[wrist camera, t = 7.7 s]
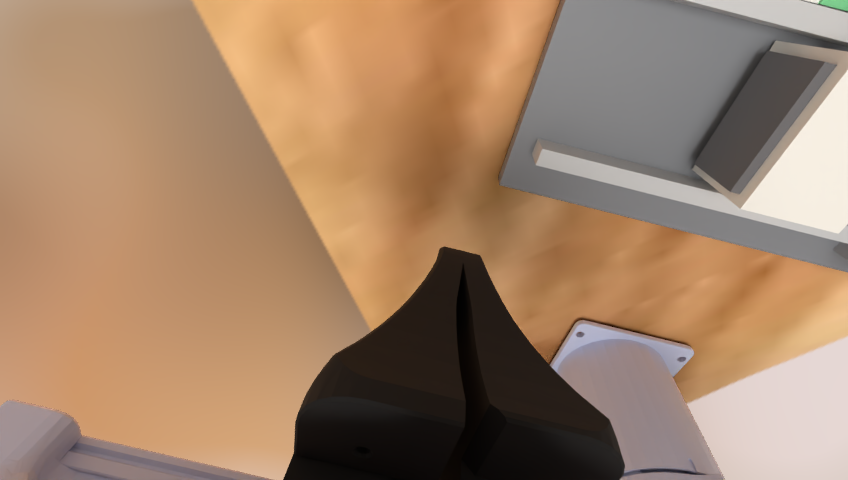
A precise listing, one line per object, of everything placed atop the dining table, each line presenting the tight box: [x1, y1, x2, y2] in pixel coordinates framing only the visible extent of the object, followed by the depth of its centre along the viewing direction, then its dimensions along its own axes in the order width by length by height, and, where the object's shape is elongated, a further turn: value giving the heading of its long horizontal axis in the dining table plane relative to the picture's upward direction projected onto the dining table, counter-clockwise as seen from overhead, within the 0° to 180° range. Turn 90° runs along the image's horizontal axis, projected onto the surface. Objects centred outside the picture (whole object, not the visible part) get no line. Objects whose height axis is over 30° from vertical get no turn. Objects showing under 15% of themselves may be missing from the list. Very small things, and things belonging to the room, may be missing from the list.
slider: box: [692, 41, 848, 234], centre depth 14 cm, size 9×4×4 cm, turn 168°
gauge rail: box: [498, 0, 848, 272], centre depth 15 cm, size 12×20×7 cm, turn 78°
